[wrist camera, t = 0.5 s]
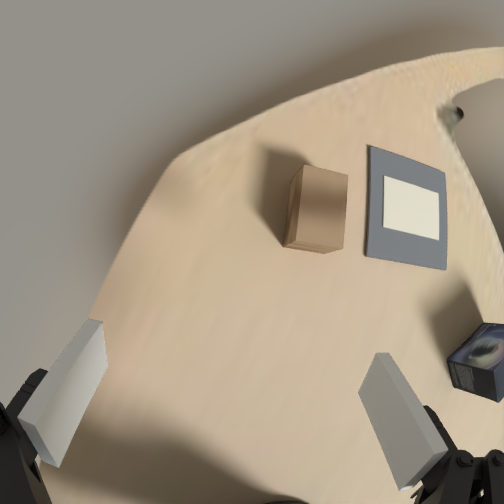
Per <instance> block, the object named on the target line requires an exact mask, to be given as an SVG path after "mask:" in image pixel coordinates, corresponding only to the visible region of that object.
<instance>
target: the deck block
mask: <svg viewBox="0 0 504 504" xmlns="http://www.w3.org/2000/svg"><path fill="white" fill-rule="evenodd" d="M347 186H348V175H346V174H342V173H338V172H334V171H330V170H326V169H322V168H318V167H313V166H309V165H305V164H304V165H303V166H302V167H301V169H300V170H299V171H298V173H297V174H296V175H295V176H294V178H293V179H292V180H291V184H290V193H289V201H288V210H287V218H286V226H285V234H284V242H283V247H285V248H291V249H298V250H304V251H310V252H316V253H322V254H325V253H329V252H333V251H336V250H340V249H343V242H344V231H345V218H346V204H347Z"/></svg>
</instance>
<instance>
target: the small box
mask: <svg viewBox="0 0 504 504" xmlns="http://www.w3.org/2000/svg"><path fill="white" fill-rule="evenodd" d="M447 362H448V366H449V370H450V374H451V378H452V382H453V386H454V388H457V389H460V390H464V391H466V392H469V393H472V394H475V395H478V396H481V397H485V398H488V399H490V400H493V401H495V402H498V403H499V402H500V401H501V400H502V399H503V397H504V324H496V323H483V324H482V325H481V326H480V327H479V328H478V329H477V330H476V331H475V332H474V333H473V334H472V336H471V337H470V338H469V339H468V340H467V341H466V342H465V343H464V344H463V345H462V346H461V347H460V348H458V349H457V350H456V351H455V352H454V353H453V354H452V355H451V356H450V357H449V358H448V359H447Z"/></svg>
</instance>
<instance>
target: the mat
mask: <svg viewBox="0 0 504 504" xmlns="http://www.w3.org/2000/svg"><path fill="white" fill-rule="evenodd" d="M365 256H366V257H372V258H378V259H383V260H389V261H395V262H401V263H406V264H412V265H418V266H423V267H429V268H434V269H440V270H446V267H447V194H446V179H445V173H444V172H442V171H439V170H437V169H434V168H432V167H429V166H426V165H424V164H421V163H419V162H416V161H413V160H411V159H408V158H405V157H402V156H399V155H397V154H394V153H391V152H388V151H385V150H382V149H379V148H376V147H372V146H370V147H369V202H368V224H367V240H366V254H365Z"/></svg>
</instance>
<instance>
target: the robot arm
mask: <svg viewBox="0 0 504 504" xmlns="http://www.w3.org/2000/svg"><path fill="white" fill-rule="evenodd" d="M107 368H108V362H107V355H106V347H105V339H104V330H103V322H102V321H97V320H93V319H88V320H87V321H86V322H85V324H84V325H83V326H82V327H81V329H80V330H79V331H78V332H77V334H76V335H75V336H74V338H73V339H72V340H71V342H70V343H69V344H68V346H67V347H66V348H65V350H64V351H63V352H62V353H61V355H60V356H59V358H58V359H57V360H56V362H55V363H54V364H53V366H52V367H51V368H50V370H49V371H46V370H44V369H38V370H37V371H35V372H33V373H32V374H31V375H30V376H29V377H28V379H27V380H26V381H25V384H23V385H22V387H21V388H20V391H18V392H17V393H16V395H15V396H14V398H13V399H12V401H11V402H10V404H9V405H8V406H7V408H6V409H5V408H4V406H3V404H2V403H1V402H0V504H52V502H51V500H50V497H49V495H48V493H47V490H46V488H45V485H44V482H43V480H42V477H41V474H40V472H39V469H38V466H37V463H36V461H35V458H36V456H37V454H39V456H40V458H41V459H42V461H44V462H46V463H48V464H50V465H53V466H55V467H58V468H59V467H60V465H61V463H62V460H63V458H64V456H65V454H66V451H67V449H68V447H69V445H70V442H71V440H72V438H73V436H74V434H75V432H76V430H77V427H78V425H79V423H80V421H81V419H82V417H83V415H84V413H85V411H86V409H87V407H88V405H89V403H90V401H91V399H92V397H93V395H94V393H95V391H96V389H97V387H98V385H99V383H100V381H101V379H102V377H103V375H104V374H105V372H106V370H107ZM358 394H359V396H360V398H361V400H362V403H363V405H364V407H365V410H366V412H367V414H368V417H369V419H370V421H371V424H372V426H373V428H374V431H375V433H376V435H377V438H378V440H379V442H380V445H381V447H382V450H383V452H384V455H385V457H386V459H387V462H388V464H389V467H390V469H391V472H392V474H393V477H394V479H395V482H396V484H397V487H398V489H399V491H401V490H405V489H409V488H412V487H414V486H415V485H416V484H417V483H418V482H419V481H420V480H421V481H422V483H423V485H422V486H421V487H420V488H419V489H418V490H417V491H416V492H415V493H414V494H413V495H412V496H411V498H414V497H415V496H416V495H417V497H416V499H415V502H414V504H504V453H503V452H502V451H500V450H496V449H495V450H491V451H490V452H489V453H488V454H487V455H486V456H485V457H473V456H472V455H471V454H470V453H469V452H467V451H465V450H458V449H457V447H456V446H455V444H454V442H453V441H452V439H451V437H450V436H449V434H448V432H447V431H446V429H445V428H443V424H442V423H441V421H440V419H439V418H438V416H437V415H436V413H435V412H434V411H433V410H432V409H431V408H430V407H429V406H427V405H426V406H422V404H421V402H420V401H419V399H418V397H417V396H416V394H415V393H414V391H413V390H412V388H411V386H410V385H409V383H408V382H407V380H406V378H405V377H404V375H403V374H402V372H401V371H400V369H399V368H398V366H397V365H396V363H395V361H394V360H393V358H392V357H391V355H390V354H389V353H376V354H375V357H374V359H373V361H372V364H371V366H370V368H369V370H368V372H367V375H366V377H365V379H364V381H363V383H362V385H361V387H360V389H359V391H358ZM482 490H483V492H484V495H483V496H482V497H481V493H480V492H481V491H482ZM267 504H305V503H301V502H293V501H282V502H272V503H267Z"/></svg>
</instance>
